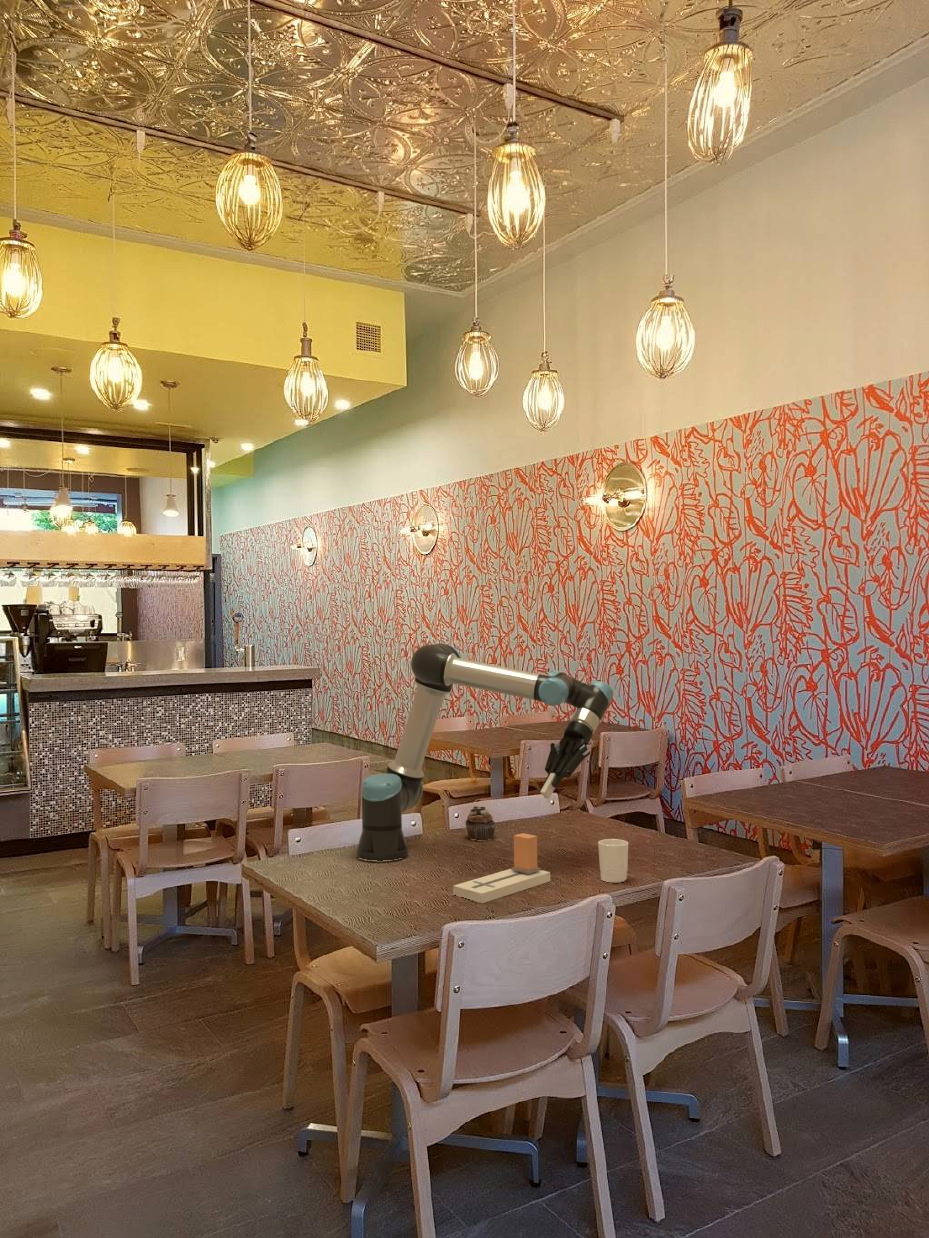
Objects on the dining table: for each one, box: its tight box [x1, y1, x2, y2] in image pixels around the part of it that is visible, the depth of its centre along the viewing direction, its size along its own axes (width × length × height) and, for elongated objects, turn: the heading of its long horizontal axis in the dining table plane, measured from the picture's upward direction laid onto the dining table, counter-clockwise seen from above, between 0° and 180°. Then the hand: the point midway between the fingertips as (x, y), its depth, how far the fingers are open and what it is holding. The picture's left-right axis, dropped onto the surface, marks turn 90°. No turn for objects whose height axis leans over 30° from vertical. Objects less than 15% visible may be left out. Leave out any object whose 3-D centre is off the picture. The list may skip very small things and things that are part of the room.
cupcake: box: [465, 805, 497, 840], centre depth 287 cm, size 10×10×10 cm
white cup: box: [597, 838, 629, 883], centre depth 237 cm, size 8×8×10 cm
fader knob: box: [510, 832, 542, 874], centre depth 238 cm, size 5×6×9 cm
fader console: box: [452, 868, 551, 904], centre depth 231 cm, size 26×10×2 cm, turn 135°
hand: (544, 795), depth 244 cm, fingers closed
